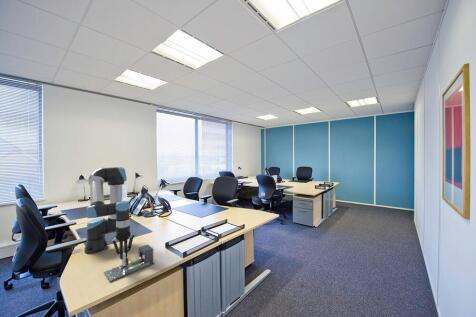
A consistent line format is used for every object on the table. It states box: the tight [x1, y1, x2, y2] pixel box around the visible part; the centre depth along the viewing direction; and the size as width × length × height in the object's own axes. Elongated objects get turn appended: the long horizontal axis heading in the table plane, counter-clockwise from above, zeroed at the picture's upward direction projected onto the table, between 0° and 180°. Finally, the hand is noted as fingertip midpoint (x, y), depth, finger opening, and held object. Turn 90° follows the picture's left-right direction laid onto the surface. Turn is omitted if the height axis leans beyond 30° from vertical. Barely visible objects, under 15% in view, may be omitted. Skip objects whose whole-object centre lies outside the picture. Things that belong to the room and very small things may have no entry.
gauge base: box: [103, 244, 156, 283], centre depth 128 cm, size 13×26×10 cm, turn 137°
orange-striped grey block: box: [125, 256, 143, 267], centre depth 130 cm, size 9×13×6 cm
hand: (123, 263), depth 125 cm, fingers closed
